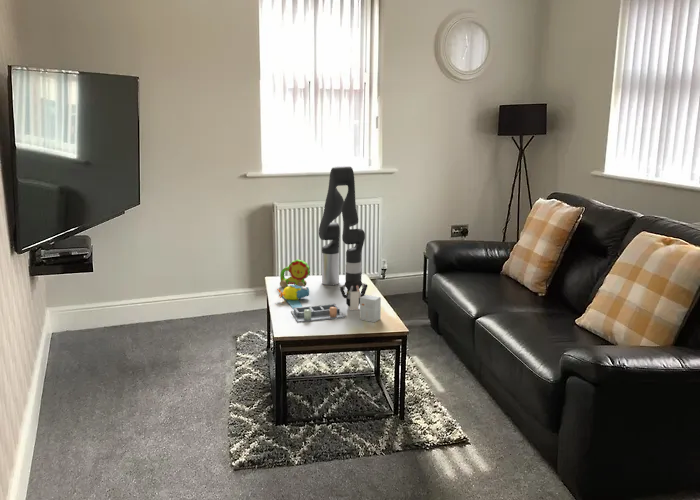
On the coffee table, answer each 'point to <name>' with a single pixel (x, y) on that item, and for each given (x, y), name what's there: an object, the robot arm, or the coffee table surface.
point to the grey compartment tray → (317, 313)
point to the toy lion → (295, 273)
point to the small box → (370, 308)
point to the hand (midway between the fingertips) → (353, 305)
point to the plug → (354, 300)
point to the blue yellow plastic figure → (294, 294)
